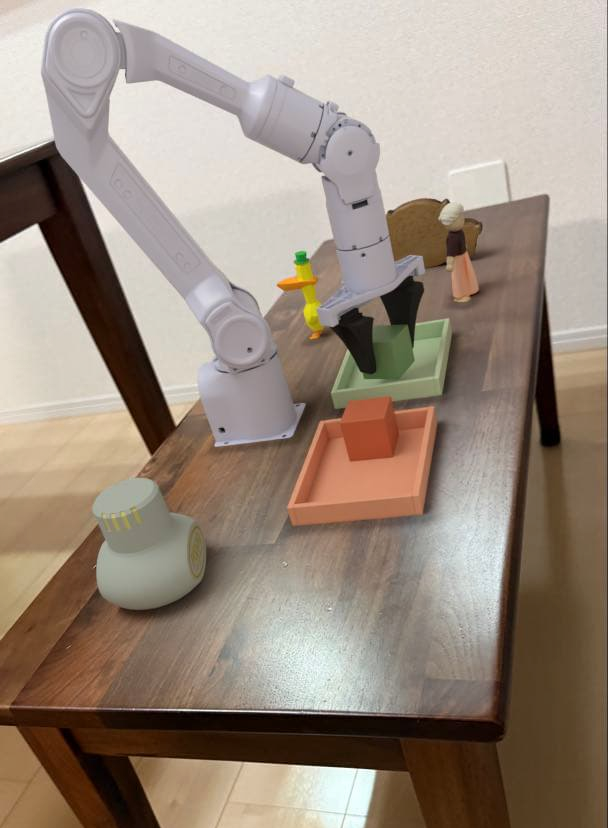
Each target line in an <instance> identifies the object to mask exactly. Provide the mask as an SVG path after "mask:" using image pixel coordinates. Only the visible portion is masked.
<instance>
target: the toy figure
mask: <svg viewBox="0 0 608 828" xmlns="http://www.w3.org/2000/svg"><path fill="white" fill-rule="evenodd" d="M307 253H308V252H307V251H306V250H300V251H297V252H294V256H295V259H294V260H293V264H294V268H295V272H296V276H291V277H286V278H284V279H282V280H280V281H279V282H277V284H276V286H277V288H279V289H280V290H282V291H283V292H288V291H295V290H301V293H302V295H303V297H304V300H305V304H304V305H305V306H304V308H303V310H302V313H303V317H304V320H305V324H306V326H307V327H308V328H310V329H311V330H312V331H313V332H314V333H312V334H311V336H310V337H309V340H314V339H318V338H320V337H321V336H320V335H322V334H323V333H322V330H323V329H324V328H325V327H326V326H323V325H320V321H319V317H318V313H317V309H316V308H318V307H319V306H321V305H322V303H321V302H320V301H319V300H318V299H317V292H316V285H317V284H318V280H319V277H318V276H315V275H313V270H312V266H311V262H310V258H309V257H307Z"/></svg>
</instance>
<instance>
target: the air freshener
mask: <svg viewBox="0 0 608 828" xmlns="http://www.w3.org/2000/svg"><path fill="white" fill-rule="evenodd" d="M91 511H92V514H93V516H94V518H95V520H96V522H97V524H98V527H99V529H100V531H101V533H102V535H103V537H104V539H105V540H104V541H103V543H102V544H101V545H100V548H99V552H98V554H97V558H96V566H95V567H96V570H95V571H96V573H95V574H96V575H95V576H96V585H97V588H98V591H99V593H100V596H101V597H102V598H103V599H104V600H106V601H107V602H108V603H110V604H111V605H114V606H116V607H119V608H121V609H127V610H133V611H134V610H135V611H144V610H152V609H158V608H161V607H165V606H167V605H170V604H172V603H174V602H176V601H178V600H180V599H182V598H183V597H184V596H186V595H188V594H189V593H190V592H191V591H193V590H194V589H195V588H196V587H197V586H198V585H199V584H200V583H201V582H202V580H203V577H204V575H205V571H206V565H207V544H206V537H205V533H204V530H203V527H202V525H201V523H200V522H199V521H198V520H196V519H195V518H192V517H191V516H188V515H186V514H181V513H178V512H170V511H169V508H168V506H167V503H166V501H165V499H164V496H163V493H162V492H161V490H160V487H159V485H158V483H157V482H156V481H154V480H152V479H151V478H146V477H132V478H128V479H123V480H121V481H119V482H116V483H114V484H112V485H109V487H107V488H106V489H104V490H103V491H102V492H100V493H99V494H98V496H97V497H96V498H95V500H94V502H93V504H92V507H91Z"/></svg>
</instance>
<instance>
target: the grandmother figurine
mask: <svg viewBox="0 0 608 828" xmlns="http://www.w3.org/2000/svg"><path fill="white" fill-rule="evenodd" d="M464 212H465V208H464V205H463V204H462V203H459V202H450V203H449V204H447V205H446V206H445V207H444V208H443V210H442V212H441V213H440V216H439V218H438V220H439V221H440V222H442V224H444V225H445V227H446V229H447V230H448V231H449V233H448V236H447V239H446V247H447V254H446V257H447V261H446V267H445V270H446V271H447V272H448V273H451V274H450V276H451V287H452V288H451V289H452V290H451V291H452V296H453V301H454V302H458V303H466V302H469V301H470V300H472V298H471V295H474V294H476V293H478V292H479V291H480V288H479V283H478V279H477V276H476V272H475V269H474V266H473V264H472V261H471V258H470V256H469V255H468V253H467V245H466V242H465V234H464V232H463V230H462V229H461V228H462V227H463V225H464V218H465V217H464V215H463V214H464Z"/></svg>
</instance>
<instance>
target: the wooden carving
mask: <svg viewBox="0 0 608 828" xmlns="http://www.w3.org/2000/svg"><path fill="white" fill-rule="evenodd" d="M449 203H451V202H450V200H449V199H448V198H444V199H443V200H438V199H436V198H431V197H421V198H417V199H414V200H413V199H412V200H410V201H406V202H404V203H401V204H400V205H398V206H397V207H395V208H394V209H388V210H387V212H386V213H385V215H386V220H387V226H388V231H389V236H390V242H391V247H392V252H393V257H394V262H396V261H399V260H401V259H403V258H405V257H407V256H409V255H415V256H423V262H424V268H425V269H429V268H433V267H437V266H440V265H442V264H444V263H447V257H446V254H447V247H446V239H447V236H448V233H449V231H448V230H447V229H446V227H445V225H444V224H442V222H440V221H439V220H438V218H439V216H440V213H441V212H442V210H443V208H444V207H445V206H446V205H447V204H449ZM483 227H484V226H483V222H482V221H479V220H477V219H475V218H471V217H464V225H463V227H462V228H461V229H462V230H463V232H464V234H465V242H466V245H467V253H468V255H469V257H472V256H474V255H476V250H477V249H476V247H477V245H478V238H479V236H480V235H481V233H482V231H483Z"/></svg>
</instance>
